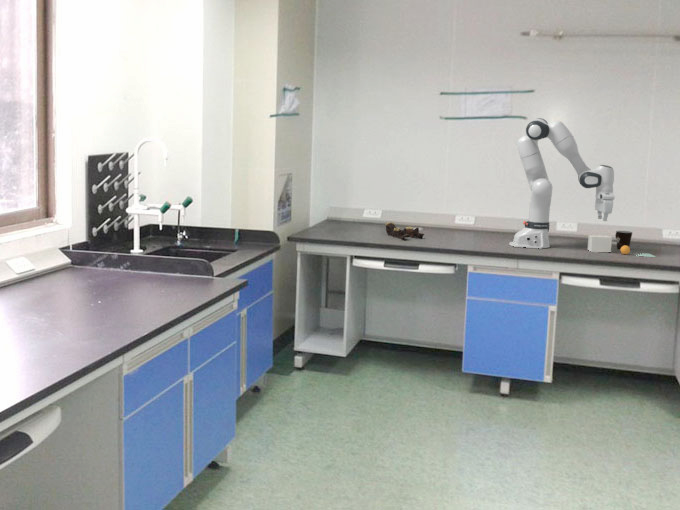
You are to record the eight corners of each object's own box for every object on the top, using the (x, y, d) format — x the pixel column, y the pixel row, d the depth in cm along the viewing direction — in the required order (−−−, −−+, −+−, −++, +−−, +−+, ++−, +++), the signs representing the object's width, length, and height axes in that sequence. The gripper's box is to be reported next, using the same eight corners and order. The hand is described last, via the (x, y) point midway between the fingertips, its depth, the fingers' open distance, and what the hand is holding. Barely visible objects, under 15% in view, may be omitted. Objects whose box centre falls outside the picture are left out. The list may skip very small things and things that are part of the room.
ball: (621, 255, 429) (622, 246, 428) (618, 253, 434) (619, 244, 433) (631, 255, 429) (631, 246, 428) (627, 253, 434) (628, 244, 433)
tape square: (637, 256, 426) (637, 256, 426) (631, 253, 436) (631, 252, 436) (655, 257, 426) (655, 256, 426) (649, 253, 436) (649, 253, 436)
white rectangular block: (590, 252, 435) (592, 236, 434) (587, 250, 442) (588, 234, 441) (610, 252, 435) (612, 237, 434) (606, 250, 442) (608, 235, 440)
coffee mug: (631, 250, 445) (633, 233, 443) (615, 249, 446) (617, 232, 445) (628, 247, 456) (630, 230, 454) (613, 246, 458) (614, 229, 456)
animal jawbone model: (404, 237, 485) (408, 222, 483) (425, 247, 463) (429, 230, 462) (380, 233, 476) (384, 217, 475) (400, 242, 455) (405, 225, 454)
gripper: (592, 192, 443) (591, 217, 446) (603, 196, 423) (601, 222, 426) (604, 193, 443) (602, 217, 446) (615, 196, 423) (613, 222, 426)
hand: (602, 219), depth 436 cm, fingers open, 8 cm apart
